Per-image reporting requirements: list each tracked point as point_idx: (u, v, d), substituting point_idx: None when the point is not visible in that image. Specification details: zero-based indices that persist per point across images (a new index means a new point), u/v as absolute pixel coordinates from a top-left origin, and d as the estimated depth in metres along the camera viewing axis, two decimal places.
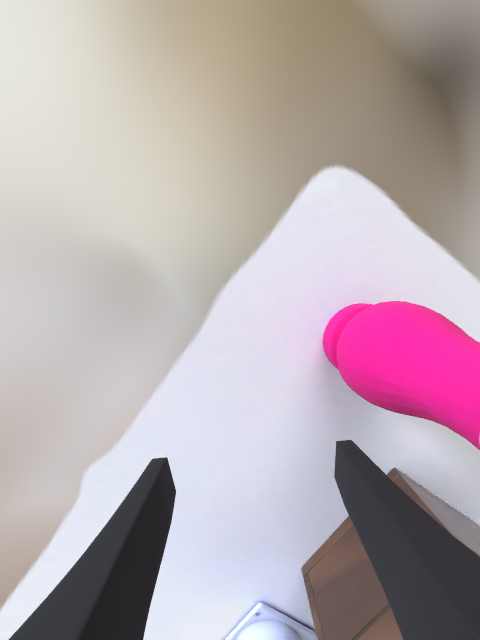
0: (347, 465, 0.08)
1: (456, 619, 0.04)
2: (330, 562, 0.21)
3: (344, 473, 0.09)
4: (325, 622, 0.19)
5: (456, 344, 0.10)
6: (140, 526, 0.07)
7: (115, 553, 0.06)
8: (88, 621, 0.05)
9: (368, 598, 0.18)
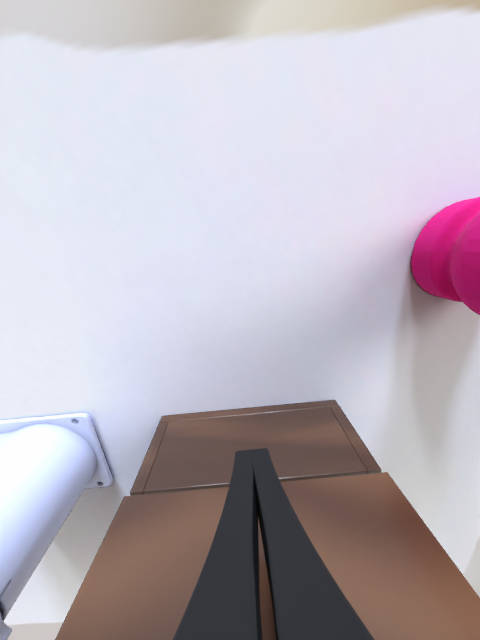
0: None
1: (278, 635, 0.04)
2: (204, 426, 0.17)
3: None
4: (161, 462, 0.15)
5: None
6: (253, 515, 0.07)
7: (245, 541, 0.06)
8: (252, 606, 0.05)
9: None
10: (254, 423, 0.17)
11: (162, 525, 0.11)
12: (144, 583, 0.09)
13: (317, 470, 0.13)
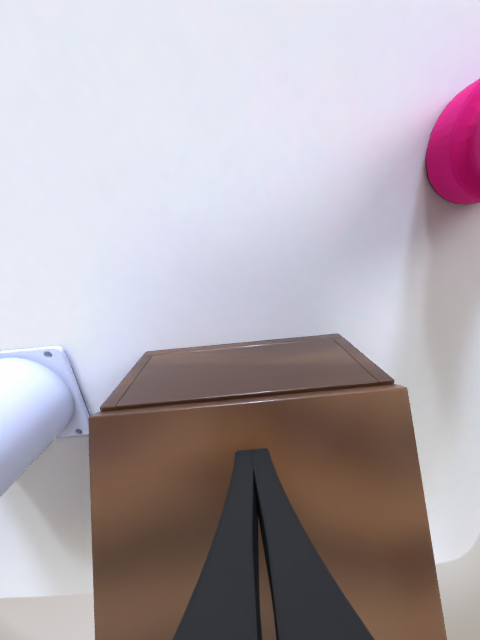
0: None
1: (277, 634, 0.04)
2: (192, 356, 0.15)
3: (254, 481, 0.09)
4: (140, 383, 0.13)
5: None
6: (253, 515, 0.07)
7: (245, 541, 0.06)
8: (252, 606, 0.05)
9: (224, 384, 0.12)
10: (248, 352, 0.15)
11: (148, 449, 0.10)
12: (149, 498, 0.10)
13: (319, 383, 0.11)
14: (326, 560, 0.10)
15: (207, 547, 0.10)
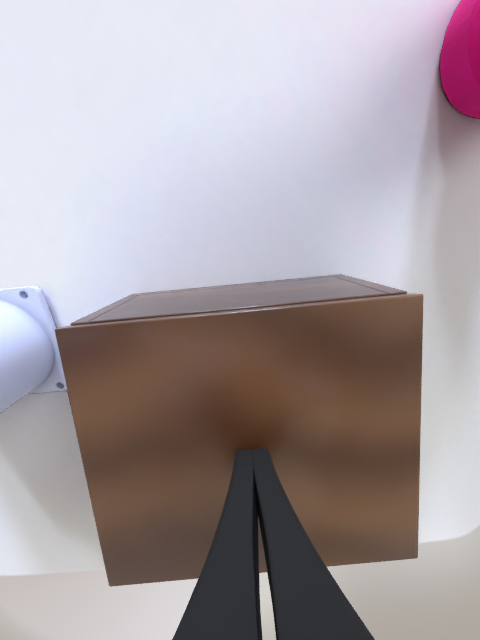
0: None
1: (278, 634, 0.04)
2: (181, 293, 0.14)
3: (254, 481, 0.09)
4: (119, 309, 0.11)
5: None
6: (253, 515, 0.07)
7: (245, 541, 0.06)
8: (252, 606, 0.05)
9: (213, 304, 0.10)
10: (242, 288, 0.14)
11: (128, 363, 0.09)
12: (134, 410, 0.09)
13: (321, 298, 0.10)
14: (316, 461, 0.10)
15: (197, 452, 0.10)
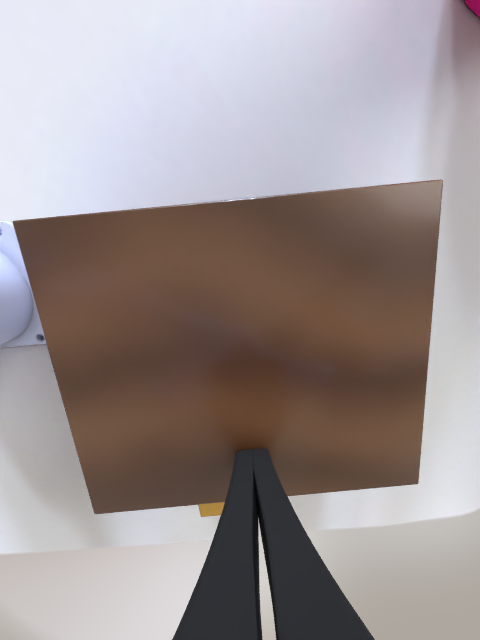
0: None
1: (278, 634, 0.04)
2: None
3: (254, 481, 0.09)
4: None
5: None
6: (253, 515, 0.07)
7: (245, 541, 0.06)
8: (252, 606, 0.05)
9: None
10: None
11: (100, 263, 0.08)
12: (111, 320, 0.08)
13: None
14: (314, 379, 0.09)
15: (183, 369, 0.09)
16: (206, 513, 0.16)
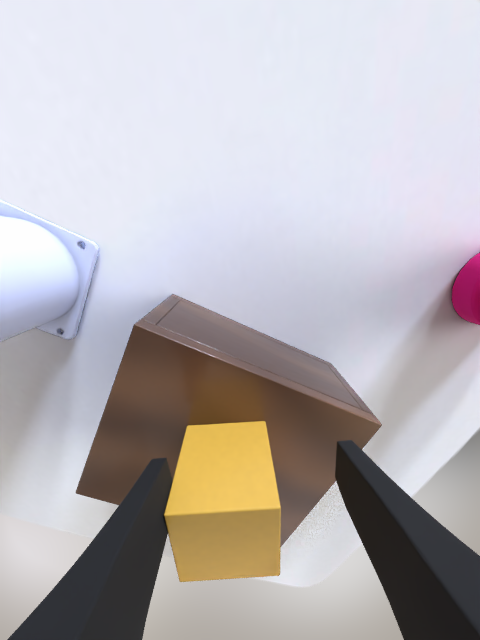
0: (348, 465, 0.08)
1: (457, 619, 0.04)
2: (216, 320, 0.16)
3: (345, 473, 0.09)
4: (174, 318, 0.13)
5: None
6: (139, 526, 0.07)
7: (115, 553, 0.06)
8: (87, 621, 0.05)
9: (248, 355, 0.13)
10: (263, 341, 0.17)
11: (175, 372, 0.11)
12: (161, 402, 0.12)
13: (322, 390, 0.13)
14: None
15: None
16: (189, 577, 0.10)
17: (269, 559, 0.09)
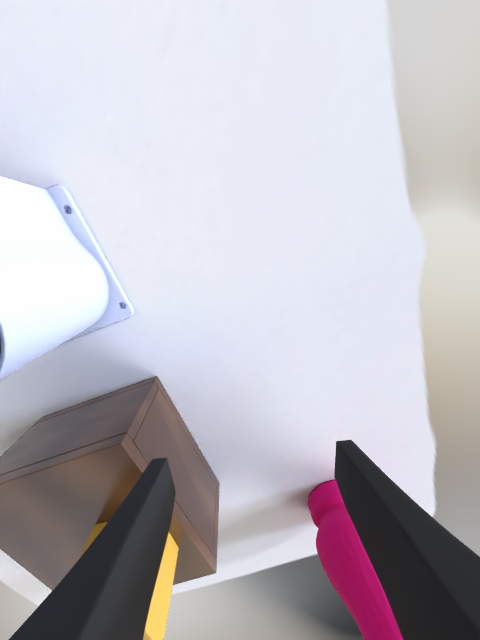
0: (347, 465, 0.08)
1: (456, 618, 0.04)
2: (172, 421, 0.19)
3: (344, 473, 0.09)
4: (147, 425, 0.16)
5: None
6: (140, 526, 0.07)
7: (115, 553, 0.06)
8: (88, 621, 0.05)
9: (174, 480, 0.17)
10: (190, 454, 0.20)
11: (119, 481, 0.14)
12: (89, 490, 0.14)
13: (199, 529, 0.18)
14: None
15: (80, 522, 0.15)
16: None
17: None
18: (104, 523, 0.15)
